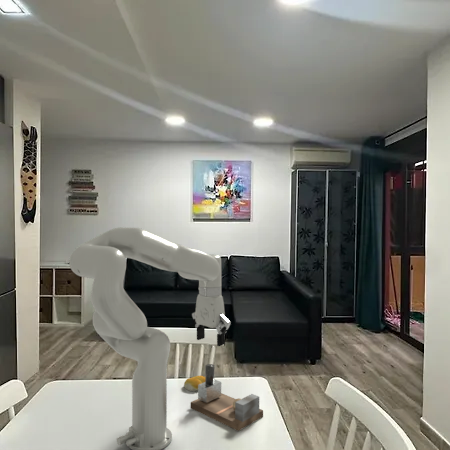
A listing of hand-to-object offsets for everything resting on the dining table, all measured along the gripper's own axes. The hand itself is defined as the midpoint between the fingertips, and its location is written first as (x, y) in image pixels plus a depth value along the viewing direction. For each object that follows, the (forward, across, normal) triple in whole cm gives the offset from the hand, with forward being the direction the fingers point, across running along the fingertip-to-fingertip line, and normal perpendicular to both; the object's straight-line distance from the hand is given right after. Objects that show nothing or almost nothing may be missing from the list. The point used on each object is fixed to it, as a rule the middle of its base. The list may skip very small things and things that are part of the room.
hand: (210, 342), depth 135 cm
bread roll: (+22, -14, +6) cm, 27 cm away
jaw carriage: (+19, 0, -1) cm, 19 cm away
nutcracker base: (+21, +8, -1) cm, 23 cm away
